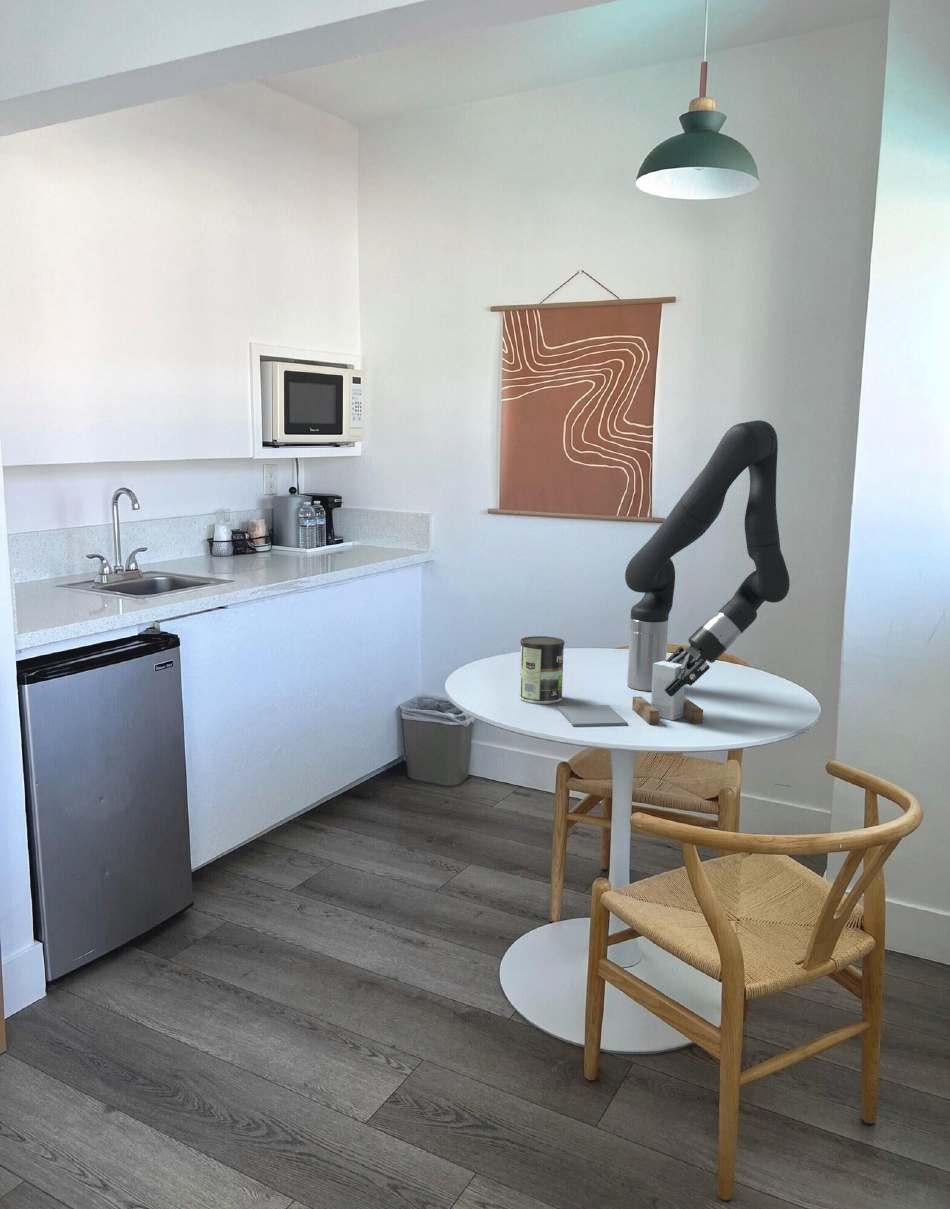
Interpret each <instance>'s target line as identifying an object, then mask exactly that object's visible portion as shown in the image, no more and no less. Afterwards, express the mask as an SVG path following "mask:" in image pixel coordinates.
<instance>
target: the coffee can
mask: <svg viewBox="0 0 950 1209" xmlns="http://www.w3.org/2000/svg"><path fill="white" fill-rule="evenodd" d="M519 642H520V659H519V660H520V661H519V662H520V663H519V666H520V669H519V697H518V698H519V700H521V701H522V702H526V703H529V702H530V704H536V705H537V704H538V705H539V704H540V705H551V704H556V702H557V703H559V701H560V702H562V700H563V674H564V673H563V672H564V671H563V670H564V649H565V648H564V647H565V640H564V639H562V638H559V637H555V636H543V635H539V636H538V635H537V636H536V635H535V636H526V637H522V638H521V639H520V640H519Z"/></svg>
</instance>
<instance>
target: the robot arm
mask: <svg viewBox="0 0 950 1209" xmlns="http://www.w3.org/2000/svg"><path fill="white" fill-rule="evenodd" d="M777 435H778V434H777V431H776V429H775V428H774V426H773V425H772V424H770V423H769V422H767V421H765V420H760V419H759V420H751V421H746V422H740V423H736V424H734V425H733V426H731V427H730V428H729V429H728V430H726V432H725V433H724V435H723V436H722V438H721V439H720V441H719V443H718V445H717V447H716V448H715V450H714V452H713V454H712V455H711V457H709V458H710V459H709V460H708V462H707V464H706V465H705V467H703V469H702V470H701V472H700V473H699V474H698V476H697V477H696V478H695V479H694V481H692V483H691V484H690V485H689V487H688V489H687V490H686V491H685V492H684V494H683V495H682V496H681V497H680V498H679V500H678V501H677V502H676V504H675V506H674V507H673V509H672V510H671V511H670V512H669V514H668V516H666V518H665V519H664V521H663V522H662V523H661V525H660V526H659V527H658V528H657V530H656V531H655V533H654V534H653V535H652V536H651V537H650V539H649V540H648V541H647V542H646V543H645V544H644V545H643V546H642V547H641V548H640V549H639V550H638V551H637V552H636V553H635V555H633V557H631V559H630V560H629V562H628V564H627V565H626V566H627V567H626V569H625V573H624V574H625V575H624V577H625V578H624V579H625V583H626V586H627V587H628V588H629V589H630V590H631V591H633V592H635V593H642V594H643V593H644V594H643V597H642V598H641V600H640V601H638V602H637V603H635V604H634V605H633V606H632V607H631V609H630V622H629V624H630V626H629V648H628V667H627V683H626V684H627V687H628V688H630V689H634V690H637V691H649V692H652V679H653V663H657V662H661V661H667V662H672V663H677V664H682V666H681V667H680V673H679V675H678V677H677V678H678V679H677V678H675V679H674V680H673V681H672V682H671V683H670V684H669V685H668V686H667V687H666V688H665V692H666V693H667V694H668V695H669V696H673V695H674V694H675V693H676V692H677V691H678V690H679V689H680V688H681V687H682V686H683V685H684V687H685V686H687V685H688V686H690V687H691V686H692V685H694V684H695V683H696V682H697V681H698V680H699V679H700V678H701V677H702V676H703V675H704V674H705V673H706V672H708V671H709V669H710V668H711V666H710V665H709V664H710V663H711V664H714V663H715V662H716V661H717V660H718V659H719V658H720V657H721V656H722V655H723V654H724V653H726V651H727V650H728V649H729V648H730V647H731V646H732V645H734V643H735V642H736V641H737V640H738V639H739V637H740V636H741V635H742V634H743V633H744V632H745V631H746V630H747V629H748V628H749V627H750V626H751V625H752V624H753V623H754V622H755V620H756V619H757V617H758V612H757V610H758V609H760V607H761V606H762V604H764V602H767V603H779V602H781V601H783V600H784V599H785V598H786V597H787V596H788V594H789V590H790V575H789V572H788V568H787V565H786V562H785V561H786V560H785V559H784V555H783V553H782V549H781V541H780V540H781V538H780V533H779V524H778V514H777V513H778V512H777V472H778V471H777V470H778V446H779V443H778V436H777ZM746 469H748V474H749V493H748V498H747V503H746V508H745V514H744V533H745V534H744V535H745V542H746V549H747V554H748V556H749V558H750V559H751V560H752V561H753V563H754V566H755V569H756V570H754V571H752V572H751V573H750V574H749V575H748V576H747V577H746V578H745V579H744V580H743V581H742V583H741V584H740V585H739V587H738V588H737V590H736V591H735V592H734V595H733V596H732V597H731V599H729V600H728V601H727V602H726V603H725V604H724V605H723V606H722V607H721V608H720V609H718V611H717V612H716V613H714V614H713V615H711V617H709V618H708V619H707V620H706V621H705V622H704V623H703V624H702V625H701V626H700V627H698V629H697V630H696V631H695V632H694V633H693V634H692V635H691V636H689V638H688V643H689V645H690V646H689V647H687V648H686V649H685V648H684V647H682V646H679V647H678V648H677V649H676V650H675V651H674V652H672V654H671V655H670V656H669V657H668V658H667V651H668V650H667V648H668V636H669V635H668V633H669V632H668V630H669V615H670V613H671V610H672V608H673V603H674V596H675V595H674V593H675V586H676V585H675V584H676V569H675V568H676V567H675V564H674V563H673V560H672V559H671V558H672V557H674V556H675V555H677V553H679V552H681V551H682V550H684V549H686V548H687V547H688V546H690V545H691V544H693V543H695V541H698V539H700V538H701V537H702V536H703V535H704V534H705V533H707V531H708V530H709V529H710V527H711V526H712V525H713V523H714V522H715V521H716V519H717V518H718V516H719V515H720V513H721V511H722V509H723V506H724V503H725V499H726V495H727V493H728V490H729V489H730V487H731V486H732V484H734V482H735V480H737V478H738V477H739V476H740V475H741V474H742V472H744V470H746ZM707 662H708V663H709V664H708V663H707Z"/></svg>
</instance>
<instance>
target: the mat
mask: <svg viewBox="0 0 950 1209" xmlns="http://www.w3.org/2000/svg"><path fill="white" fill-rule="evenodd" d="M557 710H558V711H559V712H560V713H561V714H562V716H563V717H564V718H565V720H567V721H568V723H569V724H570V723H571V724H570V725H571V726H572V727H574V728H575V727H610V726H612V727H614V726H628V722H627V720H625V719H624V718H623V717H622V716H621V715H620V714H619V713H618V712H617V711H616V710H615V709H613V707H611V706H610V705H609V704H595V705H594V704H593V705H591V704H590V705H588V704H586V705H584V704H583V705H557Z"/></svg>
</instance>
